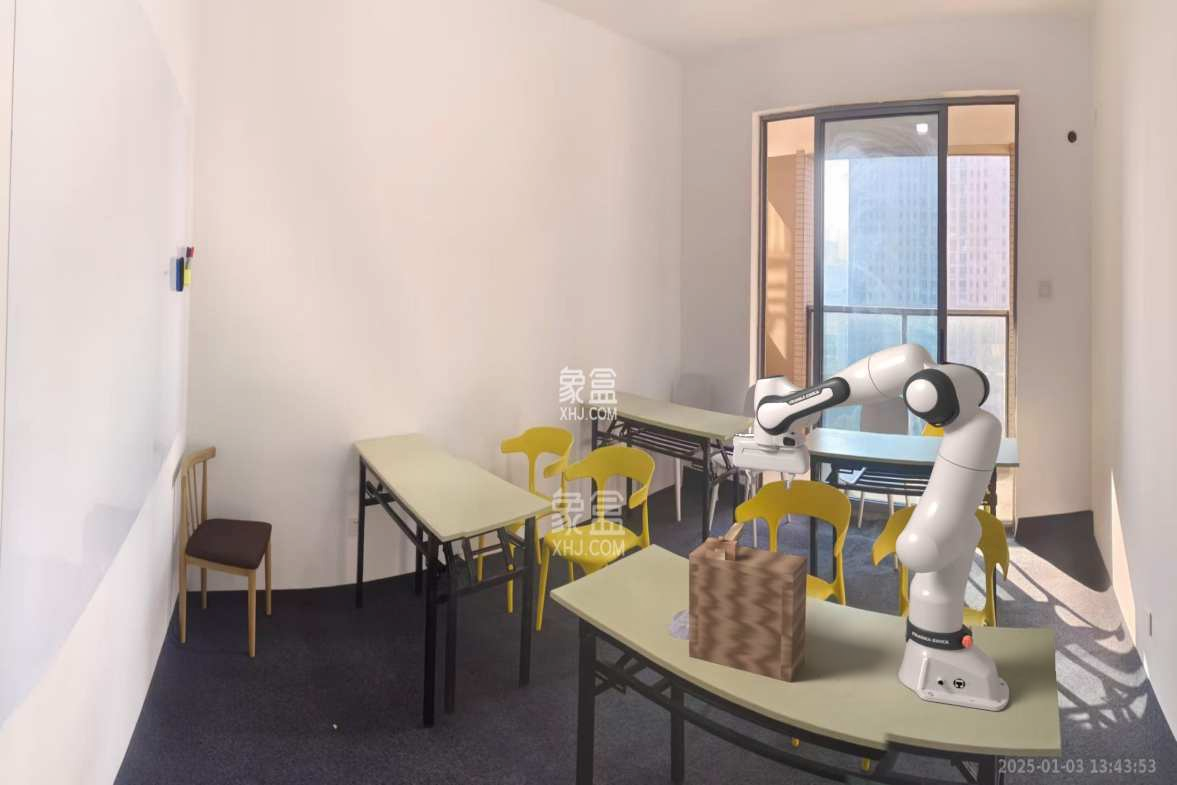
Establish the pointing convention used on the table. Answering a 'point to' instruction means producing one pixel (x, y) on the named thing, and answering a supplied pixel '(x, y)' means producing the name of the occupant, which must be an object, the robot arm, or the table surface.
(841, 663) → the table surface
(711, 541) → the marking gauge
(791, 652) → the wood grain box
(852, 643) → the table surface
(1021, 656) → the table surface
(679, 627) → the lavender lumpy chunk
